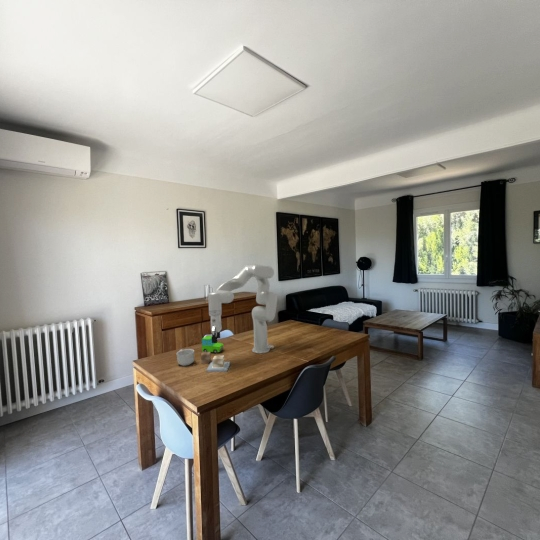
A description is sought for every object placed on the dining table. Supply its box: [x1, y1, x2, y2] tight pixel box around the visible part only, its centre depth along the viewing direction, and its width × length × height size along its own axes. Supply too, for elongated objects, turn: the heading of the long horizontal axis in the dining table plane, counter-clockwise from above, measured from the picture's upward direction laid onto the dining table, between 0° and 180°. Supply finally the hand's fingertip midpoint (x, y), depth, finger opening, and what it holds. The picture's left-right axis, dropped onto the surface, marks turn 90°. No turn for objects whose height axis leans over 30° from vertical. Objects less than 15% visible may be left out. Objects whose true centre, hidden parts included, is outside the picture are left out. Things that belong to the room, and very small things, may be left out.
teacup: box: [175, 348, 196, 367], centre depth 178 cm, size 14×11×8 cm
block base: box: [212, 355, 226, 367], centre depth 170 cm, size 6×6×5 cm
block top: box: [200, 351, 212, 365], centre depth 179 cm, size 5×5×6 cm
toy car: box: [201, 335, 225, 355], centre depth 200 cm, size 10×13×10 cm
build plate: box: [206, 361, 231, 373], centre depth 170 cm, size 12×12×1 cm
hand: (216, 340), depth 171 cm, fingers open, 9 cm apart
